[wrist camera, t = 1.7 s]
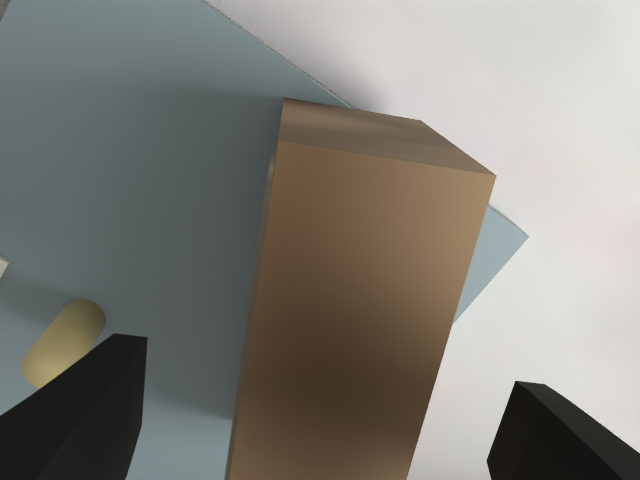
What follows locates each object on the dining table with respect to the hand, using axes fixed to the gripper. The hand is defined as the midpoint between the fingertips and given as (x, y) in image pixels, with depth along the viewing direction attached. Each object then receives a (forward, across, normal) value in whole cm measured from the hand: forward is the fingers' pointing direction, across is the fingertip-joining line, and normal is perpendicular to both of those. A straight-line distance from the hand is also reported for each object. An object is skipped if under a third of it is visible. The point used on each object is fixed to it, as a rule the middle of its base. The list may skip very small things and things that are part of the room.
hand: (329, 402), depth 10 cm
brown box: (+5, 0, 0) cm, 5 cm away
